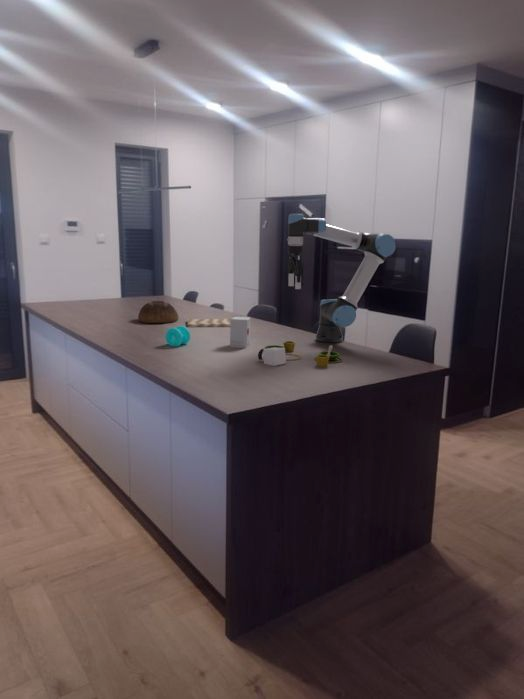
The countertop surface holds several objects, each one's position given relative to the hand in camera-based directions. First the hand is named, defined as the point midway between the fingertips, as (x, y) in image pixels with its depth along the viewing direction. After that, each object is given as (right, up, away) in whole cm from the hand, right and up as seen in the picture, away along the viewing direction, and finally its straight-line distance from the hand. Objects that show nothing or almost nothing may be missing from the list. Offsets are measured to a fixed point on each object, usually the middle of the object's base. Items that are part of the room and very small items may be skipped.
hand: (294, 287), depth 275 cm
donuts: (-60, -30, +4) cm, 67 cm away
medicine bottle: (-8, -35, -35) cm, 50 cm away
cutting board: (-49, -15, +69) cm, 86 cm away
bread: (-85, -13, +78) cm, 116 cm away
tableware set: (+4, -37, -17) cm, 41 cm away
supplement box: (-28, -30, +6) cm, 42 cm away
